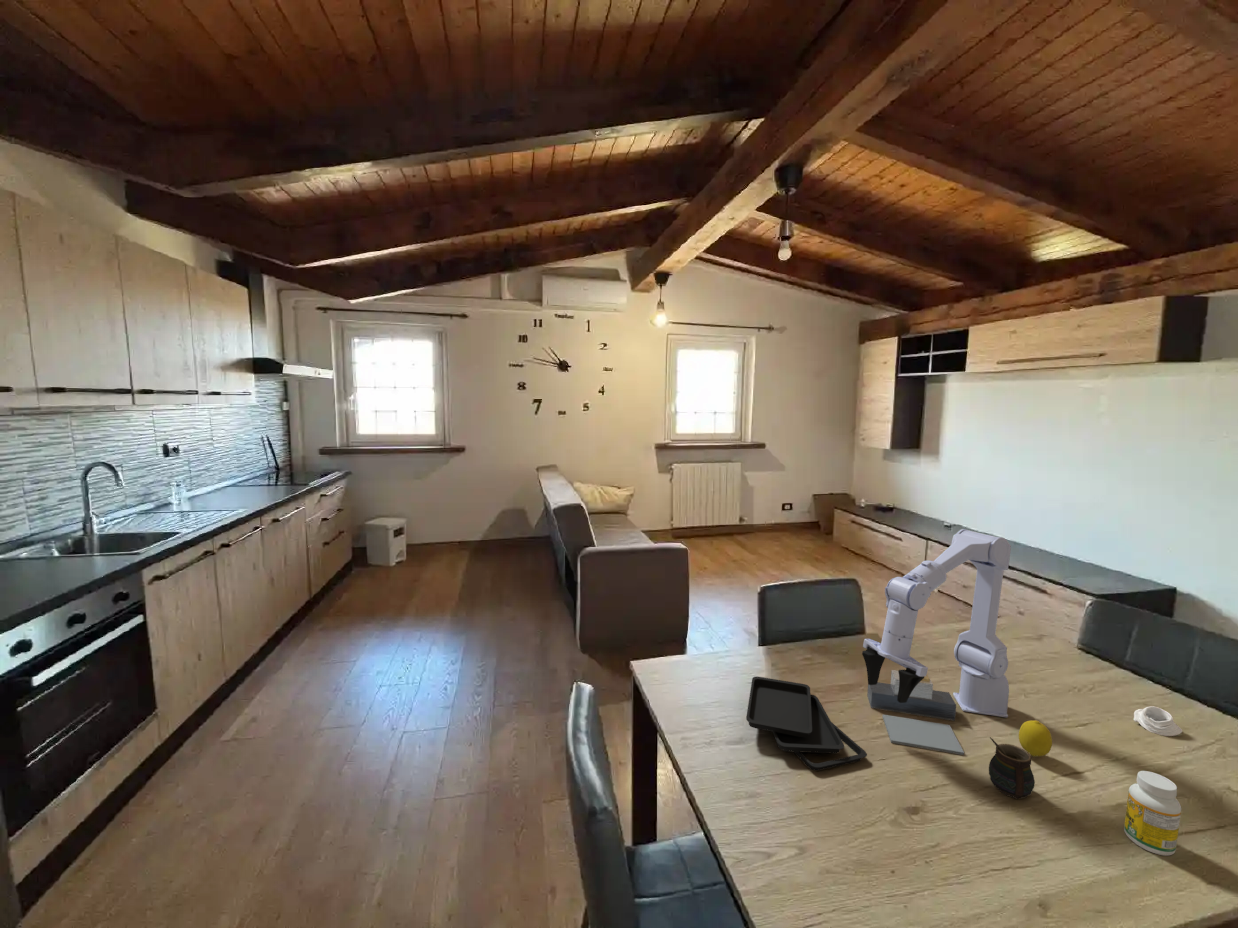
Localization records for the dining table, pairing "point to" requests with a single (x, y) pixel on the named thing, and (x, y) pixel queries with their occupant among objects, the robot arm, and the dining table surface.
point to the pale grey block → (921, 689)
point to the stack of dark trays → (797, 721)
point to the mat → (922, 734)
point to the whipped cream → (1157, 721)
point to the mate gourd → (1011, 771)
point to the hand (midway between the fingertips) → (886, 692)
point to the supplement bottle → (1153, 813)
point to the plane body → (912, 703)
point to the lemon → (1035, 738)
